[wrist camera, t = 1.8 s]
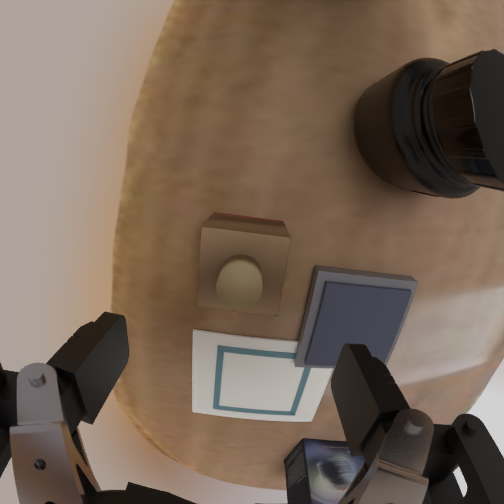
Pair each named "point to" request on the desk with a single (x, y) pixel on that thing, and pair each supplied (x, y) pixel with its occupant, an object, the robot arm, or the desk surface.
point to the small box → (320, 471)
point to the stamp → (242, 264)
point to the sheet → (253, 378)
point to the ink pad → (352, 314)
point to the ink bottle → (437, 125)
